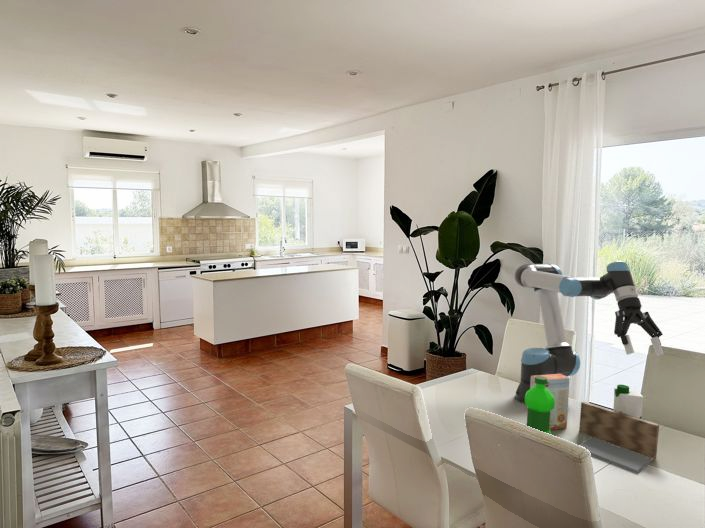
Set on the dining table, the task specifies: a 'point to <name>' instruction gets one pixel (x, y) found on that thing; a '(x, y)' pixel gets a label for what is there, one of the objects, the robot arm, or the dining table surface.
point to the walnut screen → (619, 429)
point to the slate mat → (616, 455)
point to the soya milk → (628, 401)
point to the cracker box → (557, 398)
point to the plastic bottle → (539, 405)
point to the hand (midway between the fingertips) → (645, 354)
